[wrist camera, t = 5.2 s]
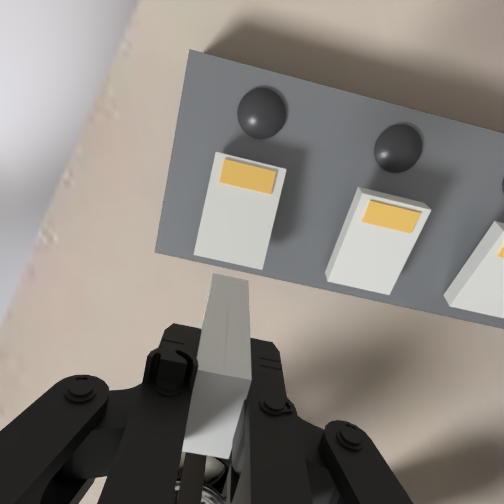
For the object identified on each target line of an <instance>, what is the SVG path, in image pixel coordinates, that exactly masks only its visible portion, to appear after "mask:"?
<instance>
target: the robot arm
mask: <svg viewBox="0 0 504 504" xmlns="http://www.w3.org/2000/svg"><path fill="white" fill-rule="evenodd" d="M231 449H232V462H231V465H230V468H229V472H228V475H227V479H226V482H225V485H224V489H223V492H222V497H226V493H227V497H226V504H413V503H412V501H411V499H410V498H409V496H408V495H407V493H406V492H405V490H404V489H403V487H402V486H401V484H400V483H399V481H398V480H397V478H396V477H395V475H394V474H393V472H392V471H391V469H390V467H389V466H388V464H387V463H386V461H385V460H384V458H383V457H382V455H381V454H380V452H379V451H378V449H377V448H376V446H375V445H374V443H373V442H372V440H371V439H370V438H369V436H368V435H367V434H366V433H365V432H364V431H363V430H361V429H360V428H359V427H357V426H356V425H353V424H351V423H349V422H346V421H340V420H336V421H331V422H329V423H328V424H327V425H326V426H325V429H321V428H319V427H317V426H314V425H312V424H310V423H308V422H306V421H304V420H302V419H301V418H300V417H298V416H297V411H296V409H295V407H294V404H293V403H292V402H291V401H290V400H289V399H288V398H287V397H286V390H285V384H284V378H283V371H282V365H281V359H280V352H279V350H278V349H277V348H276V346H275V345H274V344H273V342H268V341H263V340H259V339H254V338H250V318H249V289H248V281H247V280H242V279H238V278H233V277H229V276H224V275H219V274H215V273H213V276H212V281H211V285H210V289H209V294H208V298H207V302H206V307H205V311H204V315H203V320H202V324H201V328H200V329H199V328H194V327H189V326H184V325H179V324H174V323H173V324H172V325H171V326H169V327H168V328H167V329H165V331H164V334H163V336H162V339H161V342H160V345H159V348H157V349H155V350H153V351H151V352H150V354H149V355H148V356H147V361H146V366H145V371H144V377H143V382H142V383H141V384H139V385H138V386H136V387H133V388H130V389H124V390H111V391H109V387H108V386H107V384H106V383H105V382H104V381H103V380H101V379H99V378H98V377H95V376H90V375H74V376H70V377H67V378H64V379H62V380H61V381H59V382H57V383H56V384H55V385H54V386H52V387H51V388H50V389H49V390H48V391H47V392H45V393H44V394H43V395H42V396H41V397H40V398H38V399H37V400H36V401H35V402H34V403H33V404H31V405H30V406H29V407H28V408H27V409H26V410H24V411H23V412H22V413H21V414H20V415H19V416H17V417H16V418H15V419H14V420H13V421H12V422H10V423H9V424H8V425H7V426H6V427H5V428H3V429H2V430H1V431H0V504H79V502H80V501H81V499H82V498H83V497H84V495H85V494H86V492H87V491H88V490H89V488H90V487H91V485H92V484H93V482H94V480H95V478H97V477H104V476H107V479H106V482H105V484H104V487H103V490H102V493H101V495H100V498H99V501H98V503H97V504H173V498H174V492H175V487H176V481H177V476H178V470H179V464H180V459H181V453H182V451H184V452H190V453H195V454H201V455H207V456H213V457H219V458H225V459H229V456H230V453H231Z"/></svg>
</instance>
